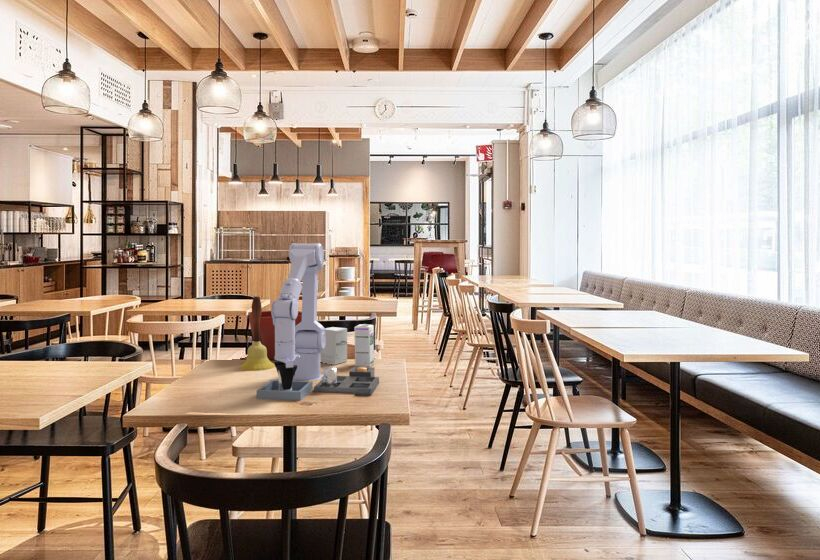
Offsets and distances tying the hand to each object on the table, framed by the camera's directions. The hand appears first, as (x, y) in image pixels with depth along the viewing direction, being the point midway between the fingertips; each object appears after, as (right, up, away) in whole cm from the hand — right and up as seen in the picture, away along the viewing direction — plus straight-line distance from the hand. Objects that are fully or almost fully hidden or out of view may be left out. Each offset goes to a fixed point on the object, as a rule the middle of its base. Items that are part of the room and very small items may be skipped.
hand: (285, 387), depth 175 cm
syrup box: (+20, 0, +43) cm, 48 cm away
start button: (+20, -1, +22) cm, 30 cm away
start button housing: (+20, -1, +22) cm, 30 cm away
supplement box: (+8, 0, +47) cm, 48 cm away
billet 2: (+12, -2, +6) cm, 14 cm away
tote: (0, -3, 0) cm, 2 cm away
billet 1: (0, -2, 0) cm, 2 cm away
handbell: (-18, 0, +39) cm, 43 cm away
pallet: (+17, -2, +9) cm, 20 cm away
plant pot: (-15, +1, +58) cm, 60 cm away
